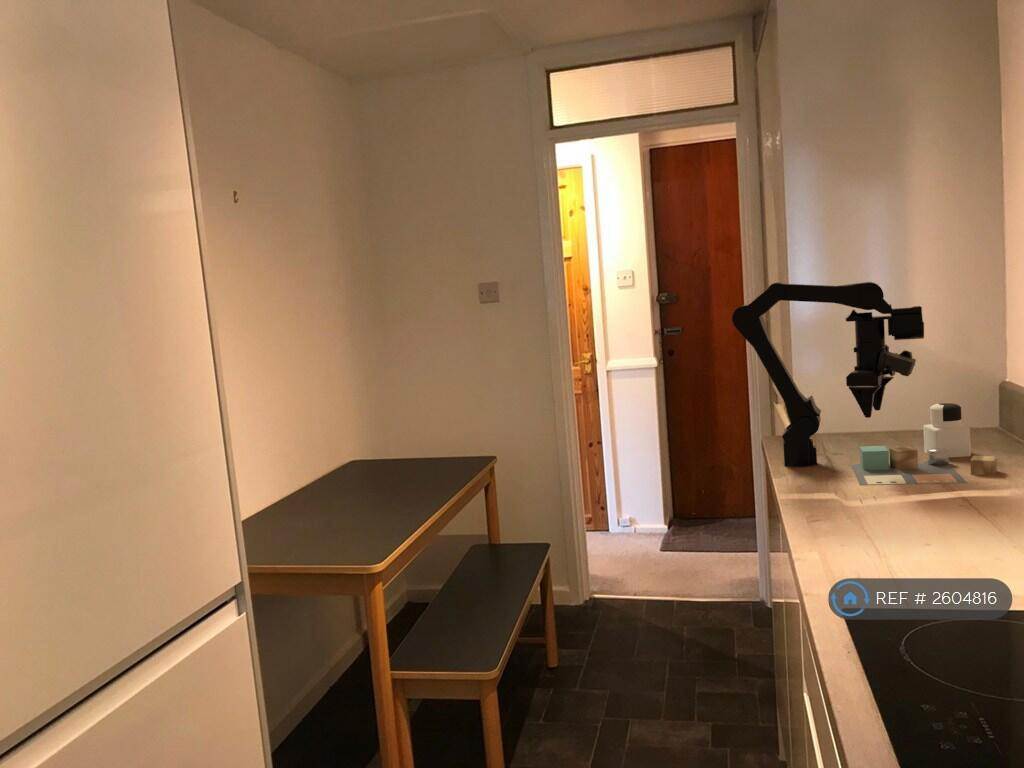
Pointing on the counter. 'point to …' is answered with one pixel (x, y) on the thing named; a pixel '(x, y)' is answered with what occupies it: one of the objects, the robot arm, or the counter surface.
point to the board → (908, 475)
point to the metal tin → (938, 456)
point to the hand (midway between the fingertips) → (872, 413)
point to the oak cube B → (983, 465)
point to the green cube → (874, 458)
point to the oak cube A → (903, 458)
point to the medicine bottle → (947, 430)
